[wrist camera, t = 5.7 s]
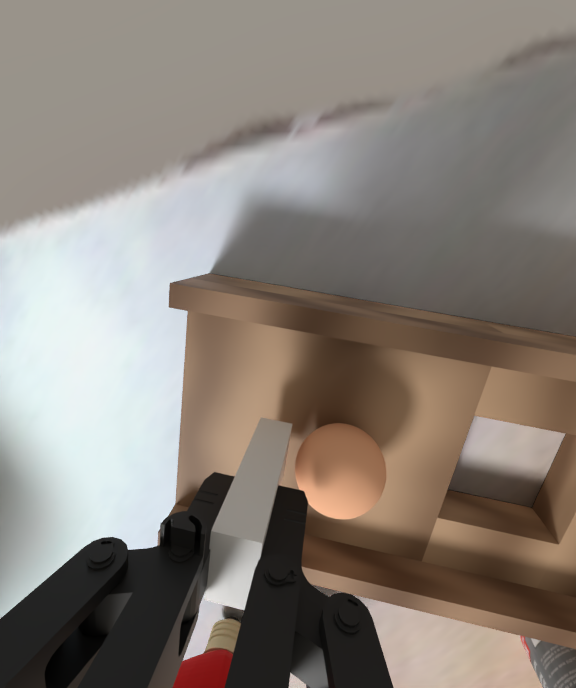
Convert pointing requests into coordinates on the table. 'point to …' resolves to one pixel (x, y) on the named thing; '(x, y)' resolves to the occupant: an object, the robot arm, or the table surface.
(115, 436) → the table surface
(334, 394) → the lane
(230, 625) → the red heart-shaped lump
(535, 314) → the table surface
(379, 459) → the ball
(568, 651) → the pill bottle
